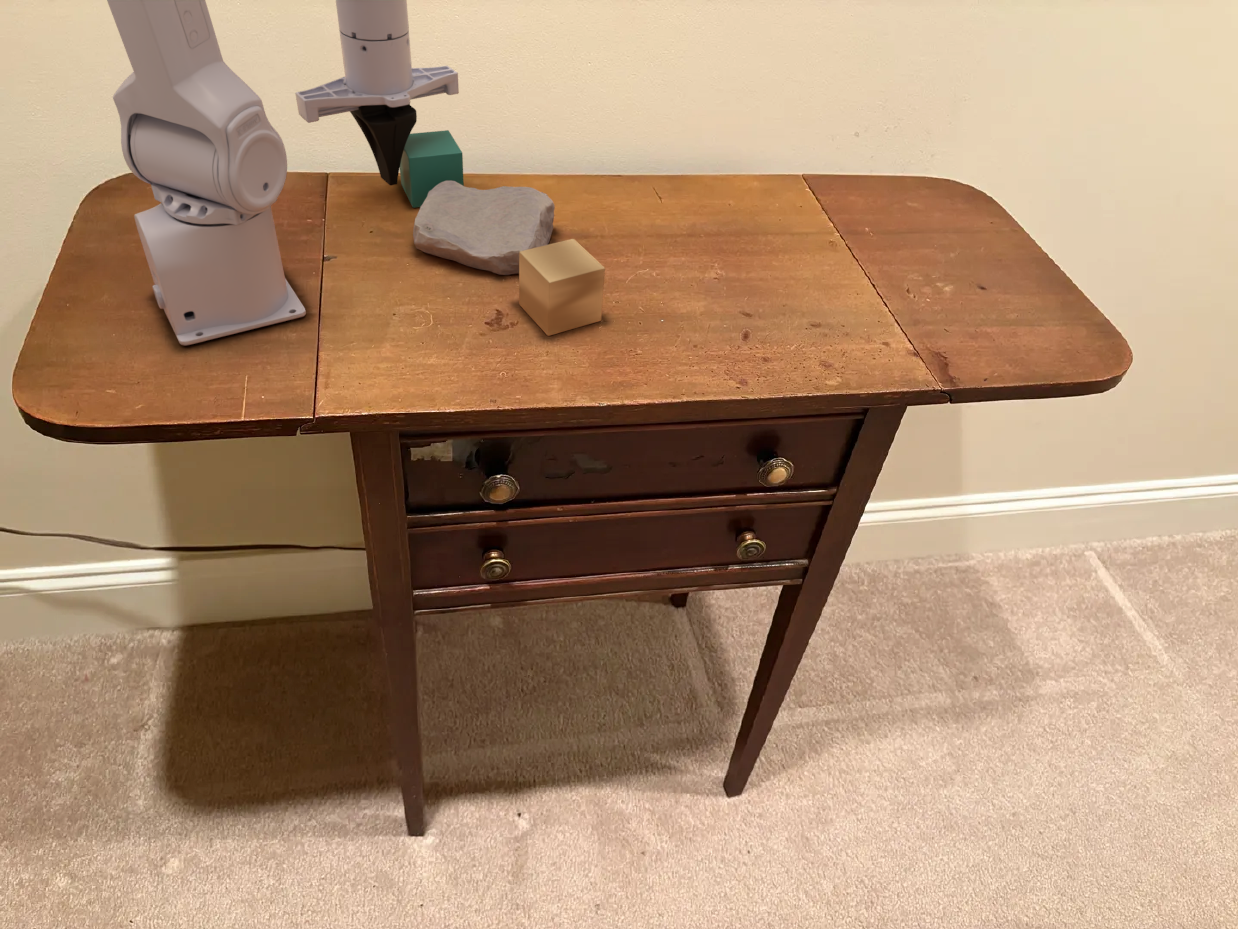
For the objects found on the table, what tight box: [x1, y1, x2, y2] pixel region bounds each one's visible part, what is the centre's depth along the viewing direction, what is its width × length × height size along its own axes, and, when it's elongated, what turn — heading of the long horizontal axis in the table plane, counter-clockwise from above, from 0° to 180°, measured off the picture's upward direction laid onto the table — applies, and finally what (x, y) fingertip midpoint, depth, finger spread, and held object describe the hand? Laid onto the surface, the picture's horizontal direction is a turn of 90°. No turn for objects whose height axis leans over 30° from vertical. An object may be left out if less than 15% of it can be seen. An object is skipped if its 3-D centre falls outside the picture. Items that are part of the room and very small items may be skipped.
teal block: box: [399, 129, 465, 209], centre depth 87 cm, size 5×5×5 cm
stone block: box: [412, 181, 556, 276], centre depth 82 cm, size 12×5×10 cm
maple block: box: [518, 238, 606, 337], centre depth 74 cm, size 5×5×5 cm
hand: (389, 180), depth 87 cm, fingers closed
